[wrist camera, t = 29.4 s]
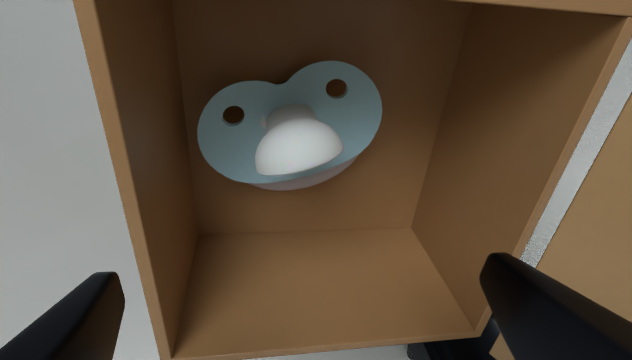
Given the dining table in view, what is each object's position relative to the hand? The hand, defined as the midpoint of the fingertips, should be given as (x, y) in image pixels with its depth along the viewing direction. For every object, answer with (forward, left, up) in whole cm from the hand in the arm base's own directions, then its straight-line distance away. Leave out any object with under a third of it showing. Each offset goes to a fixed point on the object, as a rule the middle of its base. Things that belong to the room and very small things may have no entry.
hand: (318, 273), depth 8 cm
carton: (-1, 0, -10) cm, 10 cm away
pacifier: (0, 0, -9) cm, 9 cm away
